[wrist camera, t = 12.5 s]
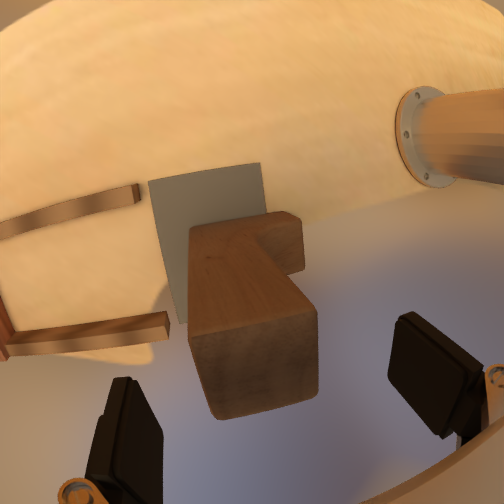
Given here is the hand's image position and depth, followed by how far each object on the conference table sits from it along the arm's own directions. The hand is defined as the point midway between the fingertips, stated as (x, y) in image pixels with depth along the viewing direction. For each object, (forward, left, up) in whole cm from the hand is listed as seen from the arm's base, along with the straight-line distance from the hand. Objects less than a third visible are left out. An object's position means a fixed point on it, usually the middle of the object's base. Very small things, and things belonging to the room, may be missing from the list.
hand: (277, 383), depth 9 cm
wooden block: (-2, 0, -19) cm, 19 cm away
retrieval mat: (0, 0, -19) cm, 19 cm away
